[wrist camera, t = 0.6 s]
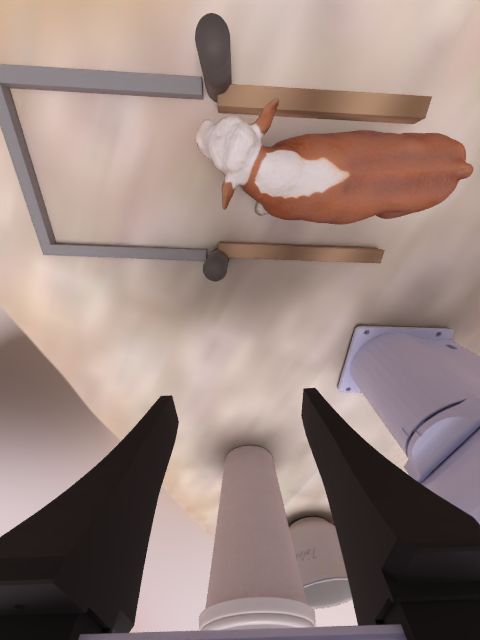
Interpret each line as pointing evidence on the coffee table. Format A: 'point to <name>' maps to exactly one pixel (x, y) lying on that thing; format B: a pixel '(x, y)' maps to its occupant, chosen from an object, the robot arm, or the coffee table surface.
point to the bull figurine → (333, 170)
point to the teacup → (320, 562)
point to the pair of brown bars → (292, 103)
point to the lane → (88, 81)
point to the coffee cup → (253, 552)
